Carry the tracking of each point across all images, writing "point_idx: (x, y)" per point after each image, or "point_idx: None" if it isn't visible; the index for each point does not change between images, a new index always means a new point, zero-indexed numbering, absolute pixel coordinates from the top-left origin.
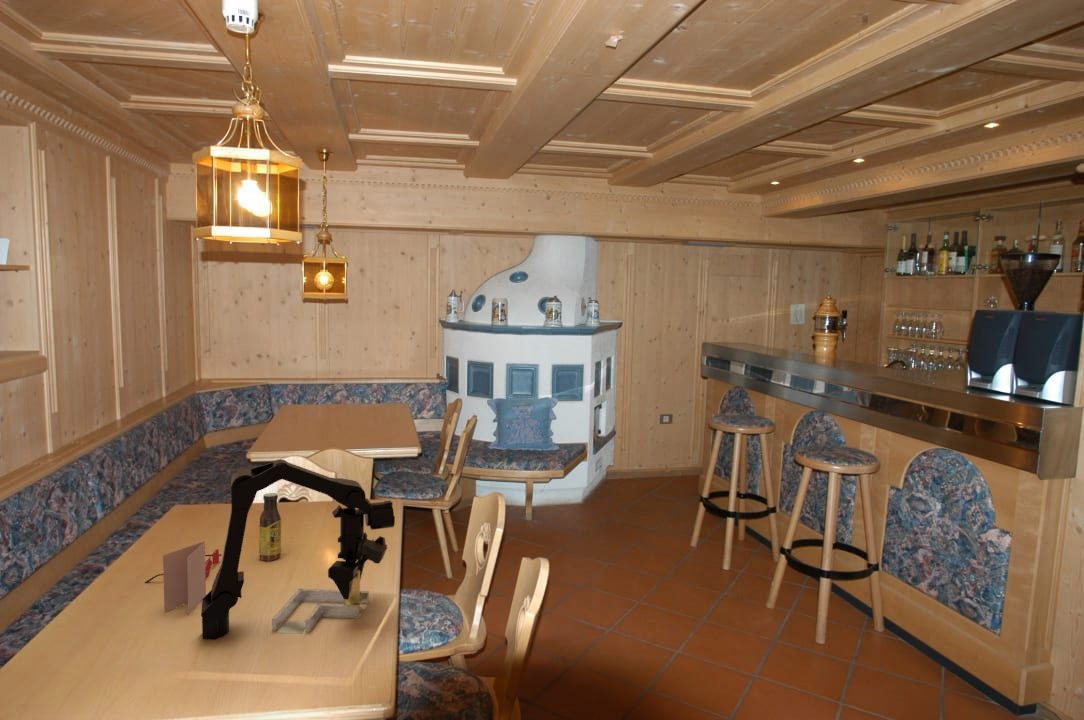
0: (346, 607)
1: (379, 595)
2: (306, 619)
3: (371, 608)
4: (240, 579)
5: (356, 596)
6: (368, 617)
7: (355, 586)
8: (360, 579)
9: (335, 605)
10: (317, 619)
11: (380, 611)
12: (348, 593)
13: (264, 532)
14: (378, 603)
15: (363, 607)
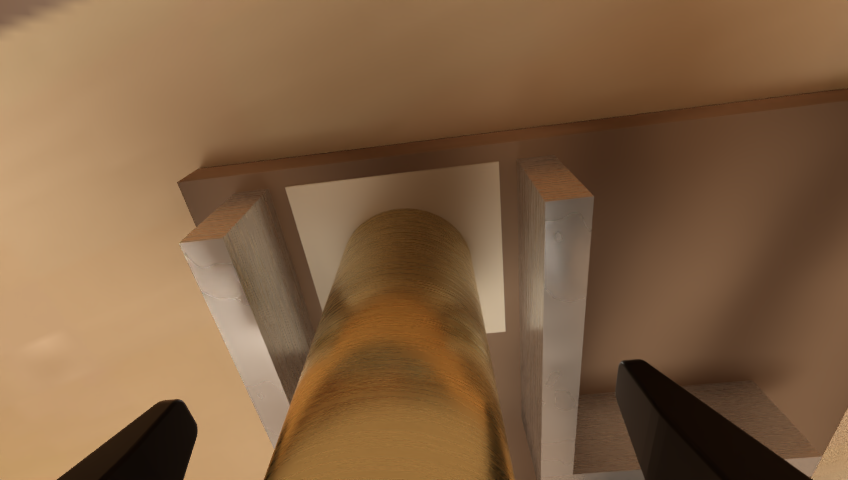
0: (580, 305)
1: (30, 173)
2: (806, 472)
3: (269, 144)
4: None
5: (449, 304)
6: (428, 101)
7: (477, 426)
8: (125, 431)
9: (564, 396)
10: (613, 403)
11: (290, 35)
12: (728, 424)
13: None
14: (160, 121)
15: (345, 196)
